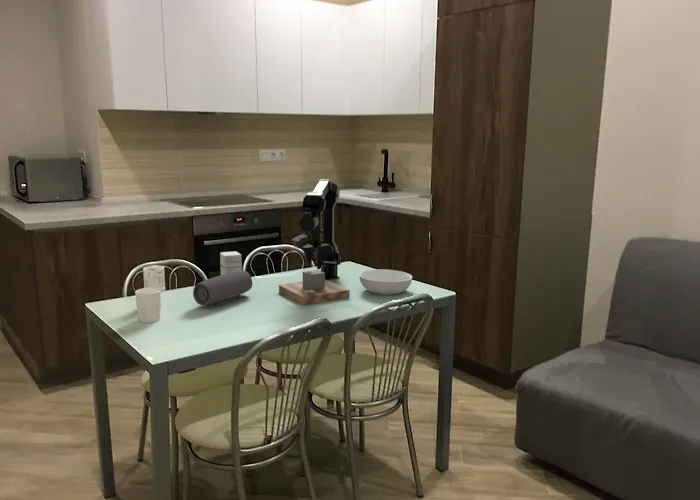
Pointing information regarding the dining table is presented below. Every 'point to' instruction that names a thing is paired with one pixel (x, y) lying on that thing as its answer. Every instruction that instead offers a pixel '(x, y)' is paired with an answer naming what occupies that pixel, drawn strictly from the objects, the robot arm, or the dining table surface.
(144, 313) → the white cup
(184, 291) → the dining table surface
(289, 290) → the brown wooden flat slab
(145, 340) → the dining table surface
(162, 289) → the white tall cylindrical part
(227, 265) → the supplement box
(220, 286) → the bluetooth speaker
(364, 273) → the serving bowl
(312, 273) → the grey rectangular block
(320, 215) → the robot arm
